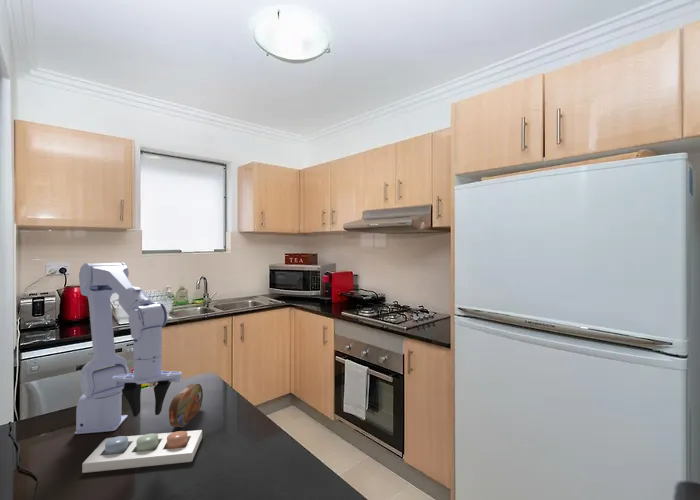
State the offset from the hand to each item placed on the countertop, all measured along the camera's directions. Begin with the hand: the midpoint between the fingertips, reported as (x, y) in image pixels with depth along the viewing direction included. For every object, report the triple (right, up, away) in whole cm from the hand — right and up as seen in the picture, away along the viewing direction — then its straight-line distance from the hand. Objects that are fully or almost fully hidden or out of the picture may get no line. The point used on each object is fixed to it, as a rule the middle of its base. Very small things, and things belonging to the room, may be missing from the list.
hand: (147, 413), depth 81 cm
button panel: (0, -9, 0) cm, 9 cm away
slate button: (-6, -8, -1) cm, 10 cm away
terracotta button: (+6, -8, +1) cm, 10 cm away
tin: (+1, -10, +17) cm, 19 cm away
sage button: (0, -8, 0) cm, 8 cm away
